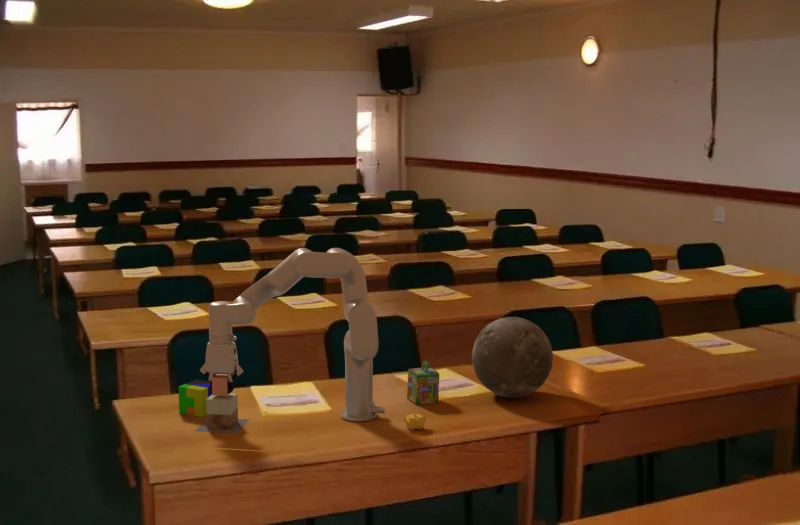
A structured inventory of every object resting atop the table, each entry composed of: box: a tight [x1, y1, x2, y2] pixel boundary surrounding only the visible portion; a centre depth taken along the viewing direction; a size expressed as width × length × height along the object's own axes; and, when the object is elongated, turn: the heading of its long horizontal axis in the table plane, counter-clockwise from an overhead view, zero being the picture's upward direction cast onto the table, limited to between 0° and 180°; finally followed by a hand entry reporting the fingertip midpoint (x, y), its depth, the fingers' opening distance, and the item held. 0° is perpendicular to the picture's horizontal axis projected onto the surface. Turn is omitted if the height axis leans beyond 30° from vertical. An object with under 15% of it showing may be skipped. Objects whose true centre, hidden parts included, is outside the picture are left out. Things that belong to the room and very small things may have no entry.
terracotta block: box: [212, 373, 229, 396], centre depth 294 cm, size 5×5×6 cm
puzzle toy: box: [177, 378, 212, 418], centre depth 310 cm, size 10×10×10 cm
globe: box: [471, 316, 554, 399], centre depth 330 cm, size 30×30×30 cm
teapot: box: [402, 413, 427, 432], centre depth 295 cm, size 8×6×5 cm
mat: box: [194, 418, 250, 434], centre depth 296 cm, size 14×14×1 cm
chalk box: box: [406, 360, 440, 406], centre depth 324 cm, size 9×9×15 cm
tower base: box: [206, 408, 239, 430], centre depth 296 cm, size 8×8×5 cm
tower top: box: [206, 392, 239, 415], centre depth 295 cm, size 8×8×5 cm
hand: (222, 391), depth 294 cm, fingers closed on terracotta block, 5 cm apart
